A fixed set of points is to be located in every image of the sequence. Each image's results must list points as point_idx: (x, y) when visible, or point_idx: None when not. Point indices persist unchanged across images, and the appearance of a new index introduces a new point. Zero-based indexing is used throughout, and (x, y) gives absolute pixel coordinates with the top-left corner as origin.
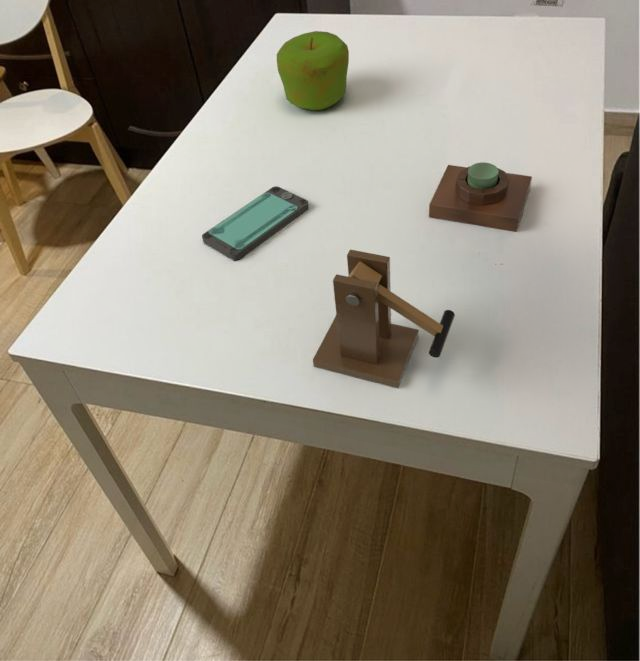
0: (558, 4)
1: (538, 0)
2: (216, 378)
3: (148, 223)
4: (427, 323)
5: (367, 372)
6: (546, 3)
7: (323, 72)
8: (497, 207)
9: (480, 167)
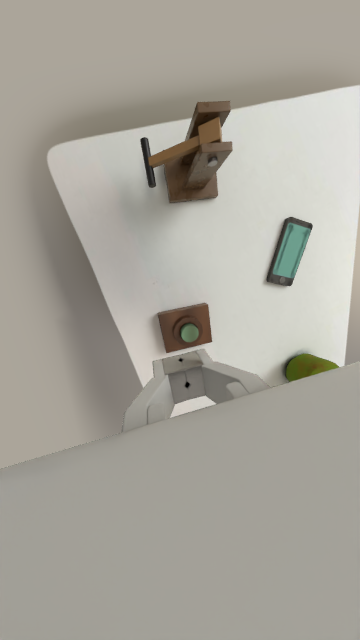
0: (159, 360)
1: (194, 354)
2: (257, 114)
3: (341, 227)
4: (157, 154)
5: None
6: (179, 355)
7: (309, 370)
8: (172, 318)
9: (192, 335)
